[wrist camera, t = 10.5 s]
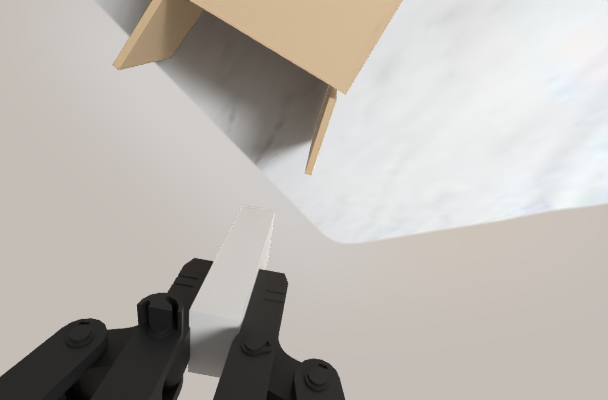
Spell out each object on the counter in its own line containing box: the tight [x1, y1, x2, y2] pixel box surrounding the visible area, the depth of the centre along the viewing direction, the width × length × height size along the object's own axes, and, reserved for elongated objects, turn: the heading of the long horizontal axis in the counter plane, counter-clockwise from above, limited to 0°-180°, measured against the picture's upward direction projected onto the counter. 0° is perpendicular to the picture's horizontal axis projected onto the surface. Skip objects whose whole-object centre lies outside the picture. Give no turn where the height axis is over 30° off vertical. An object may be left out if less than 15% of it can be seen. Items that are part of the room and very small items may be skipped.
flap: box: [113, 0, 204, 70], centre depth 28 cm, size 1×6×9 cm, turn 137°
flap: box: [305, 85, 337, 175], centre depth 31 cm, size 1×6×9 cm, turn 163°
